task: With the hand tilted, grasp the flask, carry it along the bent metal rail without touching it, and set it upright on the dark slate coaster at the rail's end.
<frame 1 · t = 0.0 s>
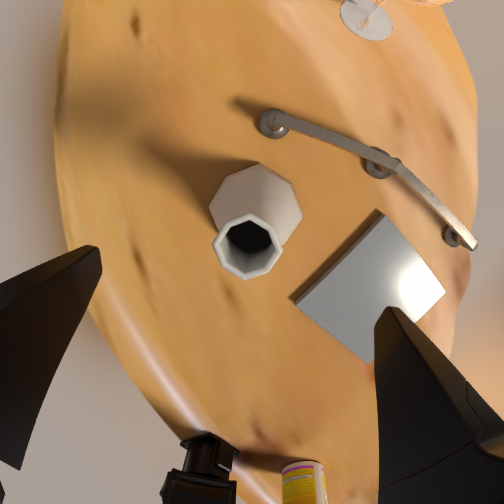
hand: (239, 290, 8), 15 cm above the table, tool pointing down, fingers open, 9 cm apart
supplement bottle: (302, 467, 35), on the table
slate coaster: (376, 295, 25), on the table
bent rail: (380, 177, 21), on the table
wineglass: (366, 19, 17), on the table
flask: (255, 210, 23), on the table
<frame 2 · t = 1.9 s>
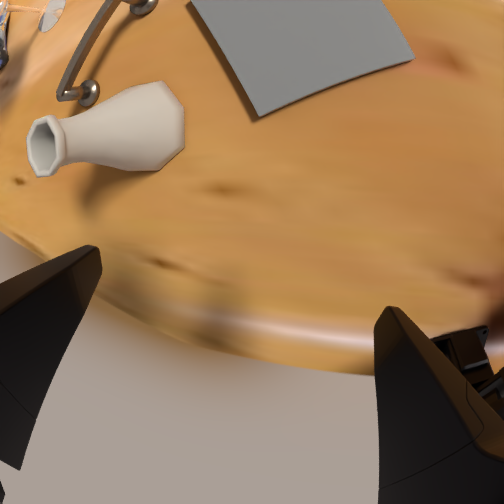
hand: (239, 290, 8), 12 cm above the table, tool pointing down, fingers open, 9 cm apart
slate coaster: (298, 15, 13), on the table
bent rail: (157, 1, 14), on the table
wineglass: (52, 12, 15), on the table
flask: (147, 126, 19), on the table
snack package: (3, 41, 17), on the table
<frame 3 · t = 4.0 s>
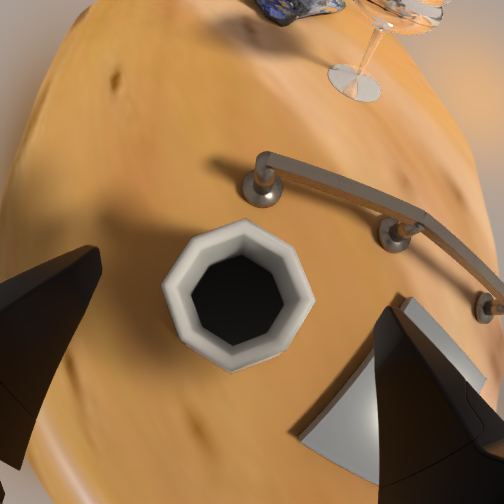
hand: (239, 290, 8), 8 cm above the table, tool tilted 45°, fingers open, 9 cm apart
slate coaster: (408, 409, 15), on the table
bent rail: (397, 251, 17), on the table
wineglass: (354, 83, 20), on the table
flask: (237, 306, 16), on the table
snack package: (297, 10, 23), on the table
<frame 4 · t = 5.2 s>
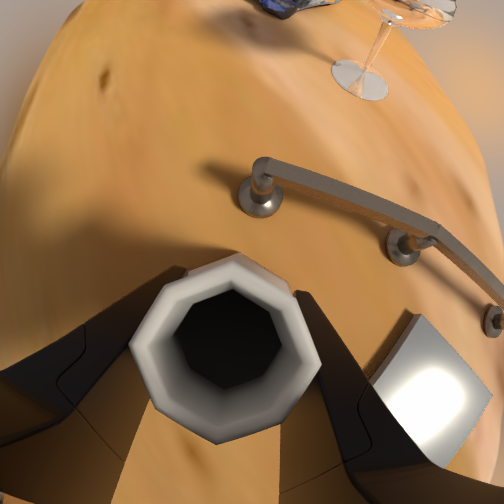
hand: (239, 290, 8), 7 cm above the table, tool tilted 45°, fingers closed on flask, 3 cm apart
slate coaster: (412, 428, 13), on the table
bent rail: (405, 264, 15), on the table
wineglass: (360, 80, 19), on the table
flask: (232, 326, 14), on the table, touching gripper
snack package: (295, 2, 22), on the table
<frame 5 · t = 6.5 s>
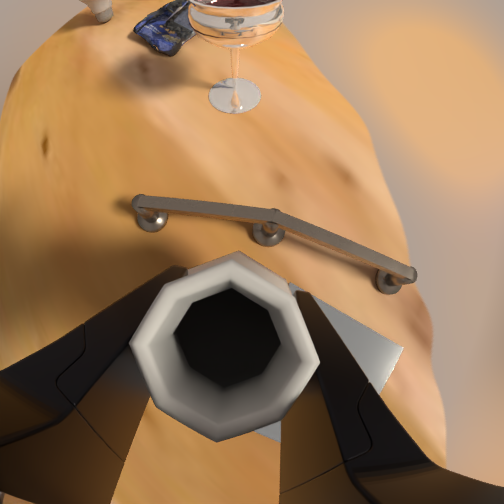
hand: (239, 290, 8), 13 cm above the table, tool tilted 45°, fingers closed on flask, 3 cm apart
slate coaster: (313, 380, 20), on the table
lightbulb: (107, 21, 27), on the table
bent rail: (274, 244, 21), on the table
wineglass: (234, 95, 24), on the table
flask: (231, 324, 15), point 6 cm above the table, touching gripper
snack package: (184, 32, 27), on the table
when the fingers open (8 cm above the table, at t = 8.2 s): flask stays where it is, resting on slate coaster.
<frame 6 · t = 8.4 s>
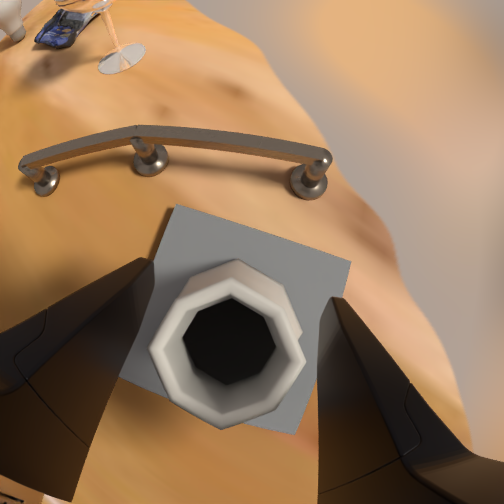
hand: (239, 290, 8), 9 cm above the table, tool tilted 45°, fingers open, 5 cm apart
slate coaster: (233, 323, 16), on the table
lightbulb: (22, 39, 22), on the table
bent rail: (159, 172, 18), on the table
wineglass: (121, 58, 20), on the table
flask: (232, 327, 16), point 1 cm above the table, touching slate coaster
snack package: (79, 27, 22), on the table
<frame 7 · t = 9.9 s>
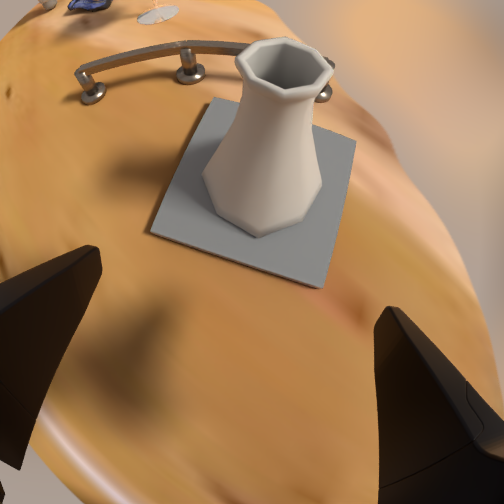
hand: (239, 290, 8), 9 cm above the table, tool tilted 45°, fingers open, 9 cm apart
slate coaster: (261, 183, 19), on the table
lightbulb: (53, 9, 24), on the table
bent rail: (197, 81, 20), on the table
wineglass: (158, 15, 22), on the table
flask: (262, 181, 18), point 1 cm above the table, touching slate coaster
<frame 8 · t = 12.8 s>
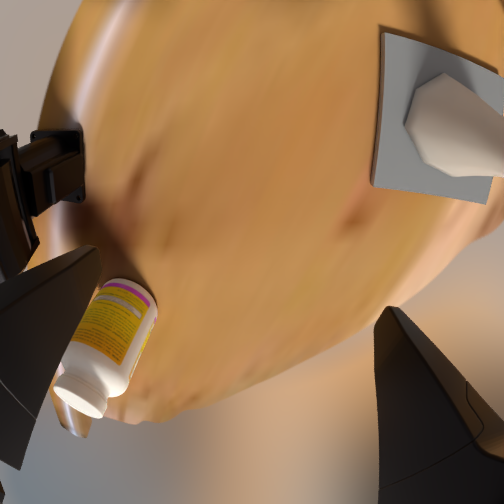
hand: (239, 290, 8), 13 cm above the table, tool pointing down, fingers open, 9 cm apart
supplement bottle: (131, 299, 28), on the table
slate coaster: (444, 123, 15), on the table
flask: (446, 124, 15), point 1 cm above the table, touching slate coaster
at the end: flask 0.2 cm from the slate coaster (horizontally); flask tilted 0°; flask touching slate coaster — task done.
